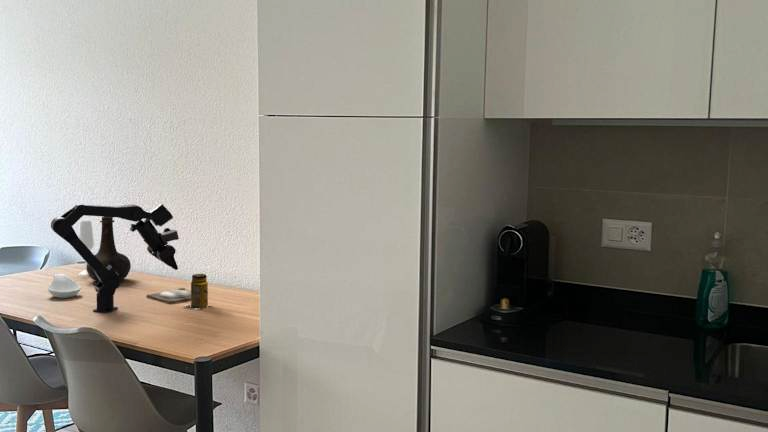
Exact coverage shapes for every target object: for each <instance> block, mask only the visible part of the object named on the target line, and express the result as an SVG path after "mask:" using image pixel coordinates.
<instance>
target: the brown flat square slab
mask: <svg viewBox="0 0 768 432" xmlns="http://www.w3.org/2000/svg"><path fill="white" fill-rule="evenodd" d="M146 298H147V299H151V300H154V301H157V302H161V303H165V304H168V305H172V304H177V303H178V304H179V303H182V302H188V301H191V290H189V289H188V290H187V289H186V288H185V287H176V288H174V290H166V291H161V292H156V293H150V294H146Z"/></svg>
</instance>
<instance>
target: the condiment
mask: <svg viewBox="0 0 768 432" xmlns="http://www.w3.org/2000/svg"><path fill="white" fill-rule="evenodd" d="M191 278H192V279H191V283H190V291H191V300H190V305H186V306H183V309H189V310H194V311H199V310H202V309H205V308H204V307H207V306H208V305H209V303H208V302H209V301H208V300H209V293H208V291H209V289H208V286H209V285H208V281H207V278H208V277H207V274H205V273H195V274H192V276H191ZM190 306H191V307H190ZM195 308H197V309H195ZM198 308H200V309H198ZM201 308H202V309H201ZM207 308H208V307H207Z"/></svg>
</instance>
